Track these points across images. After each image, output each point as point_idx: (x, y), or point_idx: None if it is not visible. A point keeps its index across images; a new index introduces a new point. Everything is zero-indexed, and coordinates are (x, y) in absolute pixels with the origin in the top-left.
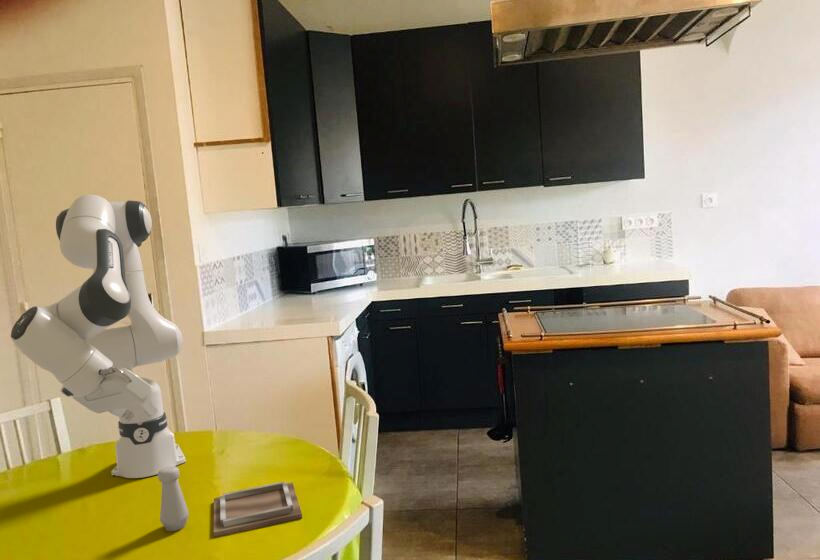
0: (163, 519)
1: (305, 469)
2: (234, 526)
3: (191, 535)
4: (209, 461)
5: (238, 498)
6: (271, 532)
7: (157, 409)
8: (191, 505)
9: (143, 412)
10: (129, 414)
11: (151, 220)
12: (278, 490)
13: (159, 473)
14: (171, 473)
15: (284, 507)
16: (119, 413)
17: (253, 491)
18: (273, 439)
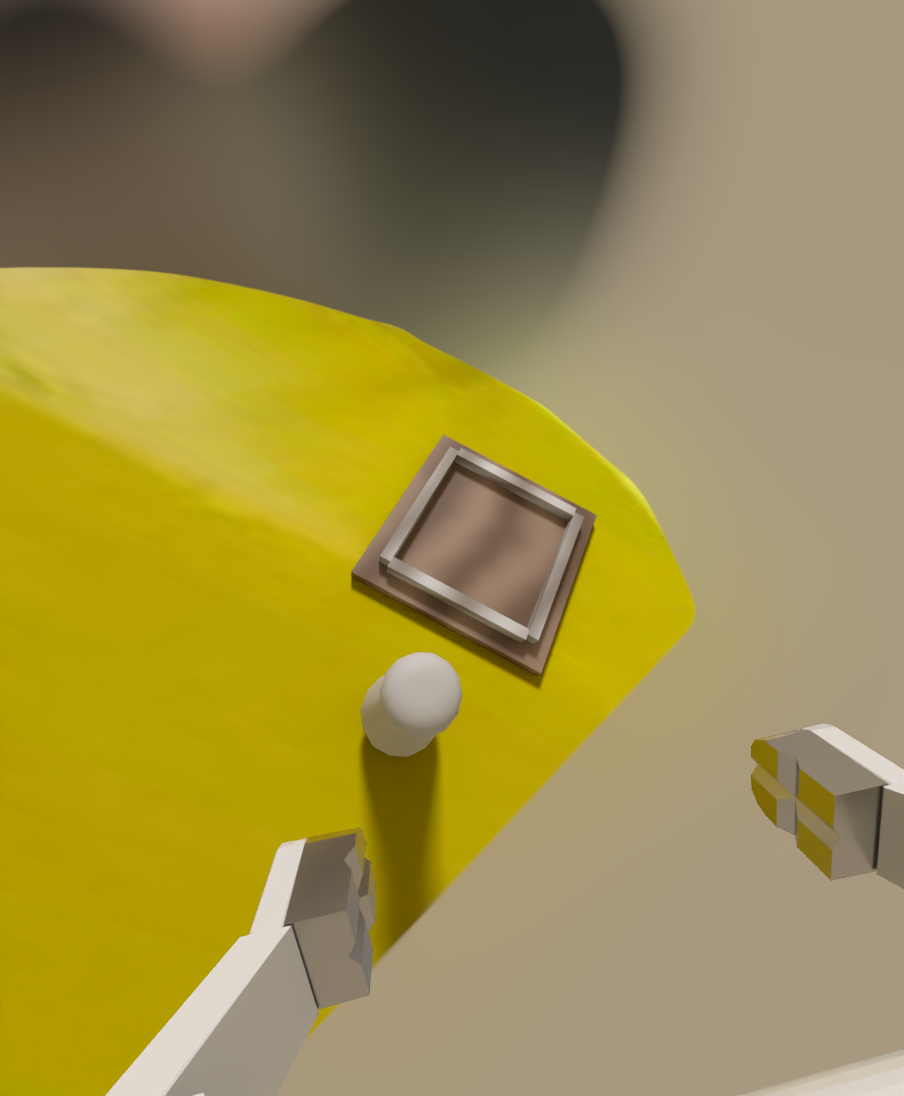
0: (414, 752)
1: (384, 378)
2: (548, 626)
3: (482, 709)
4: (50, 433)
5: (414, 540)
6: (604, 587)
7: (822, 724)
8: (307, 622)
9: (828, 877)
10: (358, 896)
11: None
12: (455, 472)
13: (424, 731)
14: (461, 695)
15: (574, 523)
16: (276, 1059)
17: (425, 505)
18: (126, 288)
